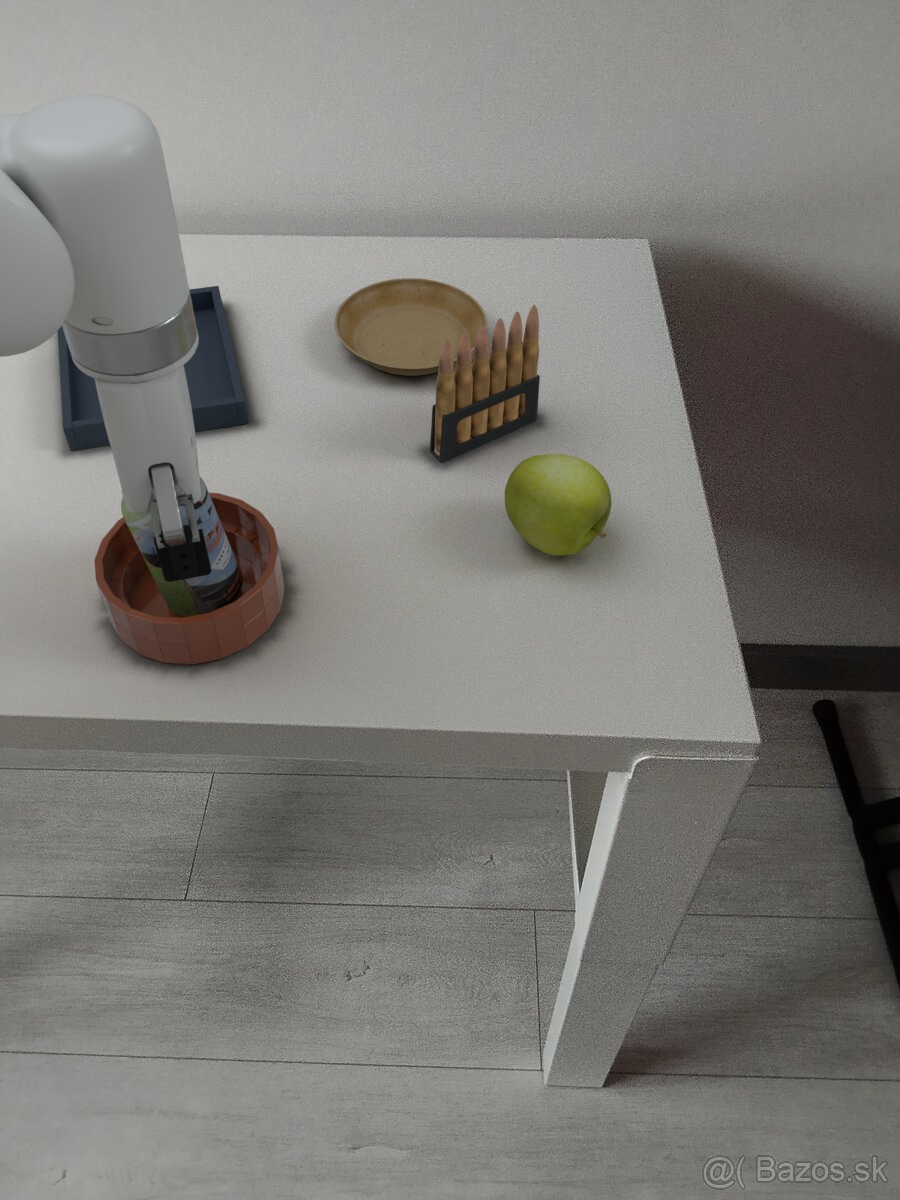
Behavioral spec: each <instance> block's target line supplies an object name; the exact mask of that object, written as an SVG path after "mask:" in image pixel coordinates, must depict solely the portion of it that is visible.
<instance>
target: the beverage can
mask: <svg viewBox="0 0 900 1200" xmlns="http://www.w3.org/2000/svg"><path fill="white" fill-rule="evenodd" d="M175 488H176V493H177V495H180V494H185V493H184V491H183V490H182V489H181V488H180V487H179V486H178V485H175ZM200 489H201V497H200V499H199V500H198V501H197V502H196V503H195V504H194V503H193V506H194V511H195V516H196V521H197V526H198V529H202V530H203V534H204V538H205V543H206V547H207V552H208V556H209V561H210V565H211V573H210V574H209V575H205V576H200V577H195V578H189V579H184V580H178V581H173V582H167V581H166V580H165V579H164V576H163V572H162V569H161V565H160V562H159V558H158V554H157V551H156V547H155V544H154V537H155V532H154V528H153V523H152V518H151V514H150V509H149V507H148V508H147V511H146V512H144V513H137V514H133V513H131V512H130V511H128V510H127V509H126V504H125V500H124V496H123V492H122V491H121V495H122V497H121V503H120V511H121V515H122V518H123V517H124V519H125V521H126V523H127V525H128V528H129V530H130V532H131V534H132V536H133V538H134V540H135V542H136V544H137V546H138V548H139V550H140V552H141V554H142V556H143V558H144V560H145V562H146V564H147V566H148V568H149V570H150V572H151V574H152V576H153V578H154V580H155V582H156V584H157V586H158V588H159V590H160V592H161V594H162V596H163V598H164V600H165V602H166V604H167V606H168V607H169V609H170V610H172V611H173V612H174V613H176V614H178V615H180V616H183V617H189V616H194V615H200V614H205V613H210V612H213V611H215V610H217V609H219V608H222V607H224V606H226V605H228V604H230V603H232V602H233V601H234V599H235V598H236V597H237V596H238V594H239V592H240V590H241V587H242V582H243V578H242V574H241V571H240V569H239V566H238V564H237V561H236V559H235V556H234V554H233V551H232V549H231V546H230V544H229V541H228V539H227V536H226V534H225V532H224V529H223V527H222V524H221V522H220V519H219V517H218V514H217V512H216V509H215V507H214V504H213V502H212V499H211V497H210V494H209V493H210V492H209V489H208V487H207V485H206V483H205V481H204V479H203V478H202V477H201V476H200ZM153 495H154V499H156V494H155V489H153ZM179 509H180V514H181V519H182V522H183V525H189V524H188V519H187V514H186V509H185V505H183V506H179Z"/></svg>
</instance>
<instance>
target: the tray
mask: <svg viewBox="0 0 900 1200" xmlns="http://www.w3.org/2000/svg"><path fill="white" fill-rule="evenodd" d="M189 290H190V296H191V301H192V306H193V311H194V316H195V322H196V327H197V332H198V337H199V342H198V347H197V349H196V351H195V353H194V355H193V356H192V357H191V358H190V360H189V361H188V362H187V363H185V364H184V369H185V374H186V379H187V385H188V390H189V396H190V401H191V408H192V414H193V421H194V428H195V433H197V432H201V431H209V430H215V429H221V428H228V427H234V426H241V425H246V424H249V416H248V409H247V404H246V399H245V394H244V390H243V386H242V380H241V376H240V373H239V368H238V364H237V360H236V355H235V351H234V346H233V343H232V338H231V332H230V330H229V325H228V321H227V316H226V313H225V312H226V311H225V308H224V305H223V299H222V295H221V291H220V287H219V285H214V286H213V285H212V286H205V287H198V288H189ZM57 344H58V345H57V346H58V347H57V348H58V362H59V365H58V366H59V380H60V381H59V382H60V399H61V416H62V417H61V418H62V430H63V433H64V436H65V439H66V441H67V445H68V448H69V451H71V452H74V451H79V450H80V451H81V450H87V449H92V448H93V449H94V448H100V447H105V446H110V442H109V438H108V435H107V431H106V427H105V423H104V419H103V415H102V411H101V407H100V402H99V398H98V393H97V388H96V383H95V378H93V377H90V376H88V375H86V374H85V373H83V372H82V371H81V370H79V368H78V367H77V366H76V365H75V363H74V362H73V359H72V356H71V353H70V350H69V347H68V344H67V340H66V337H65V334H64V331H63V327H62V326H61V327H60V328H59V330H58V331H57Z"/></svg>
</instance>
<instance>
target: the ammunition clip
mask: <svg viewBox="0 0 900 1200" xmlns="http://www.w3.org/2000/svg"><path fill="white" fill-rule="evenodd" d="M505 326H506V325H505V323H504V320H503V318H501V317H499V318H498V320H497V321H496V323H495V326H494V329H493V331H492V337H491V344H490V340H489V339H490V338H489V334H488V329H487V330H486V327H485V326H484V325H482V326H481V328H480V330H479V332H478V335H477V338H476V343H475V350H474V354H473V358H472V353H471V345H470V340H469V337H468V334H467V333H466V332H464V333H463V335H462V337H461V339H460V342H459V346H458V352H457V361H456V364H455V365H454V361H453V352H452V348H451V344H450V342H449V340H448V339H446V340H445V342H444V343H443V346H442V349H441V353H440V359H439V369H438V372H437V378H436V382H435V403H434V404H432V407H431V425H430V440H429V453H431V455H432V456H433V457H435V458H436V459H437V461H438V462H439V463H441V464H443V463H447V462H448V461H450V460H452V459H454V458H457V457H459V456H461V455H463V454H466V453H468V452H471V451H472V450H475V449H476V448H479V447H482V446H483V445H486V444H488V443H490V442H492V441H494V440H497V439H499V438H501V437H504V436H506V435H508V434H510V433H513V432H515V431H517V430H520V429H521V428H523V427H526V426H529V425H531V424H533V423H535V422H537V420H538V410H539V395H540V380H541V376H540V375H539V374H538V369H539V368H538V367H539V359H540V357H539V356H540V345H539V339H540V338H539V337H540V335H539V333H540V316H539V311H538V308H537V306H536V304H533V305H532V306H531V308H530V309H529V311H528V314H527V317H526V321H525V325H524V329H523V320H522V317H521V314H520V312H519V311H516V312H515V313H514V314H513V317H512V319H511V322H510V326H509V329H508V336H507V333H506V327H505ZM523 330H524V331H523ZM490 345H491V346H490ZM472 359H473V362H472ZM454 366H455V368H454ZM454 369H455V370H454Z"/></svg>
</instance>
